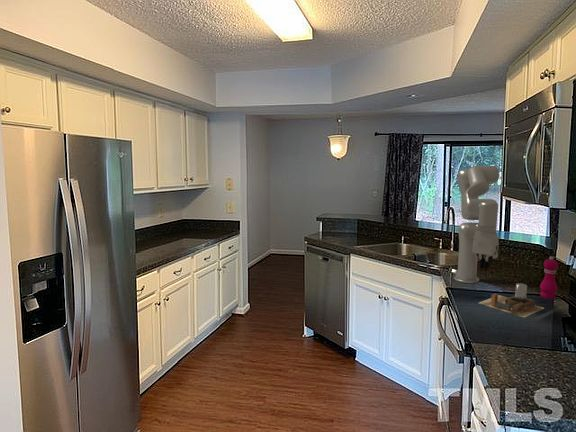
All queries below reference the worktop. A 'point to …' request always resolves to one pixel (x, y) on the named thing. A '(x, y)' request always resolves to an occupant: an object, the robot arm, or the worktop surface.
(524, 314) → the dock
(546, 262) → the pepper mill
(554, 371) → the worktop surface
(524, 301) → the peg
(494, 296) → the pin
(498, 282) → the worktop surface
